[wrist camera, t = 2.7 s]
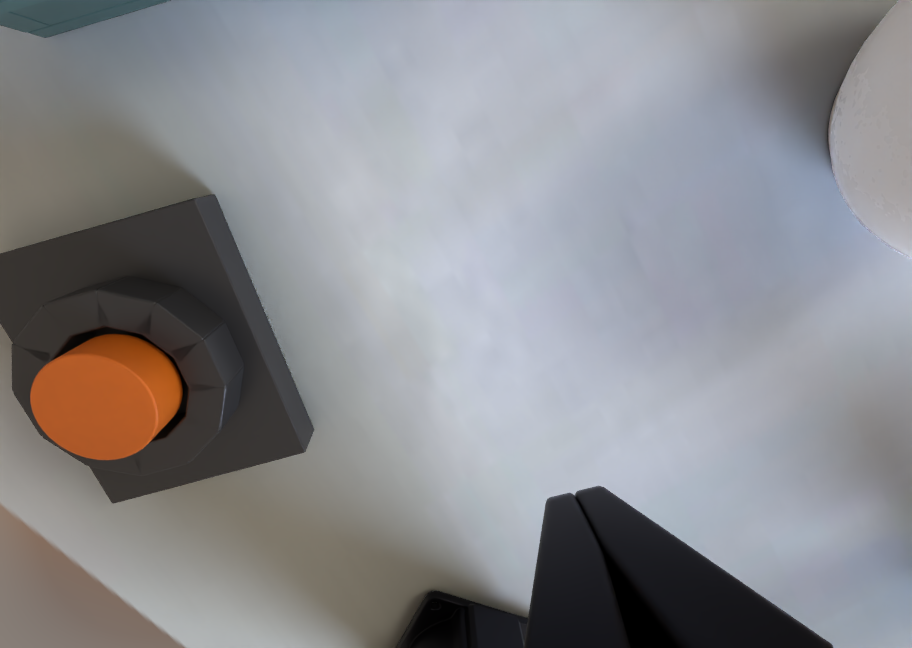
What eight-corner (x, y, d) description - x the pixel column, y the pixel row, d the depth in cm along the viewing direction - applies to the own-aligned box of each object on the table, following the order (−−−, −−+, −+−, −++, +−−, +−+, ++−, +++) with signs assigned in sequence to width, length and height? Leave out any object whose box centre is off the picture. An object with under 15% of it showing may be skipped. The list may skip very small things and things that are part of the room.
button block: (314, 429, 21) (294, 481, 18) (135, 477, 21) (82, 538, 18) (215, 194, 18) (167, 203, 14) (4, 254, 18) (-92, 277, 15)
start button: (201, 415, 17) (177, 444, 15) (102, 442, 17) (68, 473, 15) (153, 320, 16) (121, 339, 14) (47, 349, 16) (3, 373, 14)
